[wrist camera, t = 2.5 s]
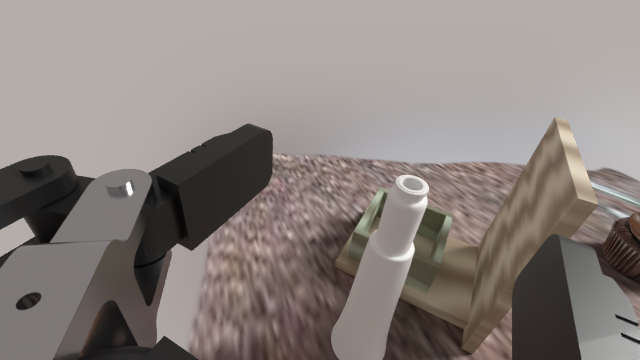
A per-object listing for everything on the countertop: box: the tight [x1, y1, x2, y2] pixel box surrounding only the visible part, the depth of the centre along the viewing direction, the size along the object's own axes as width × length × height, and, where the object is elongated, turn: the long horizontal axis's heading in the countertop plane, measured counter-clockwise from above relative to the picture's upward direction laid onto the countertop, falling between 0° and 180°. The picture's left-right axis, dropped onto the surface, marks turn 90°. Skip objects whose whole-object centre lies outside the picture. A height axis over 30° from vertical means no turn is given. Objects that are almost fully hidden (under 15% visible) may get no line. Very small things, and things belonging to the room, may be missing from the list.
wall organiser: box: [335, 118, 598, 354], centre depth 36 cm, size 16×18×22 cm
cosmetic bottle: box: [331, 175, 429, 360], centre depth 27 cm, size 6×6×22 cm
